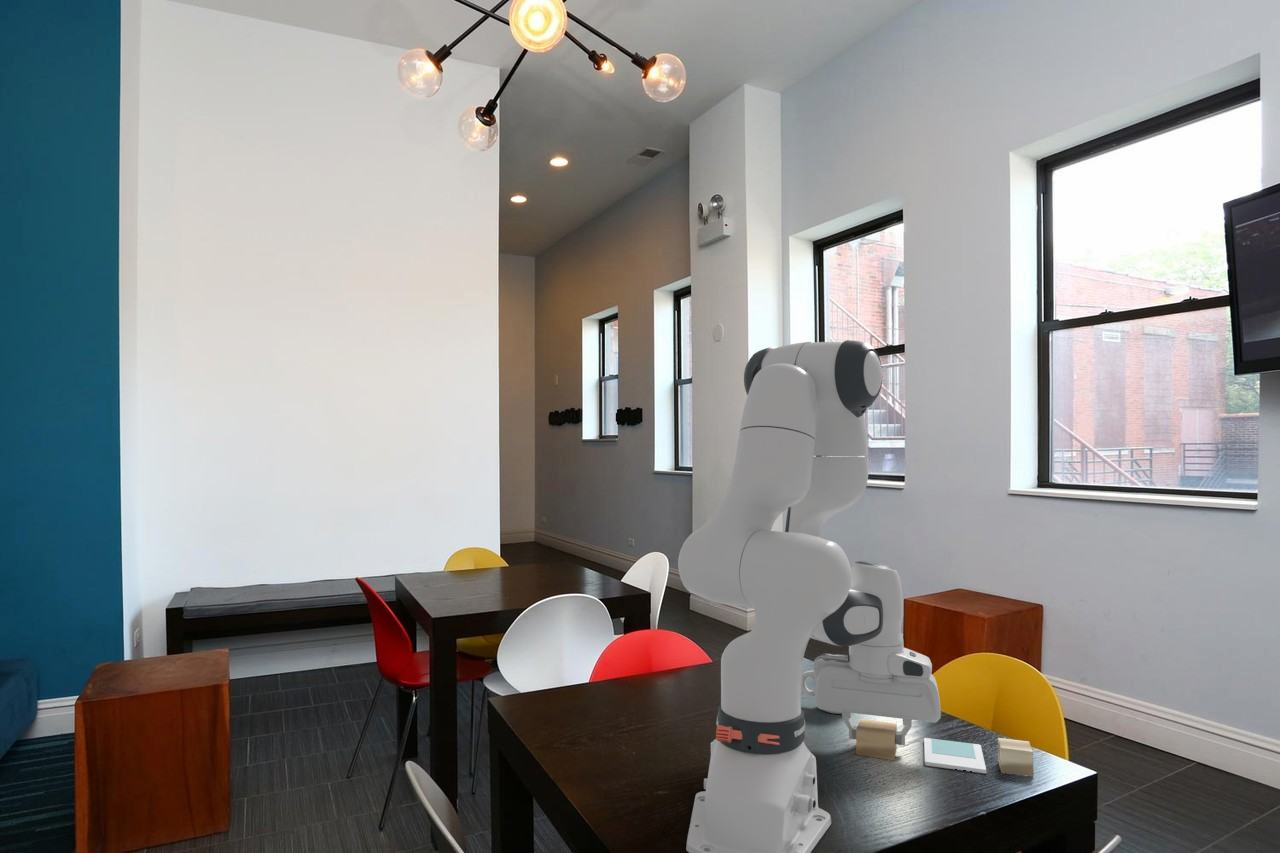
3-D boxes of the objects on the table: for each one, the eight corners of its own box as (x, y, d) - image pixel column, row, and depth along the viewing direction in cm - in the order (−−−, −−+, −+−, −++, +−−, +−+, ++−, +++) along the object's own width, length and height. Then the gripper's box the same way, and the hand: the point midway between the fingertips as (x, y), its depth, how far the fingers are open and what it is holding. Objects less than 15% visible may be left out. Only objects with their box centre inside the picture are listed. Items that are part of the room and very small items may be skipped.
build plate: (986, 773, 117) (986, 769, 117) (924, 765, 120) (924, 761, 120) (980, 748, 127) (980, 744, 127) (924, 741, 130) (924, 737, 130)
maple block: (1033, 777, 116) (1033, 751, 116) (1001, 773, 117) (1001, 747, 117) (1029, 766, 120) (1028, 741, 120) (998, 762, 121) (997, 737, 122)
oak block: (894, 760, 122) (894, 735, 122) (856, 754, 124) (856, 730, 124) (896, 747, 127) (896, 723, 127) (860, 742, 130) (860, 718, 130)
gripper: (811, 656, 127) (811, 739, 126) (940, 668, 120) (941, 756, 119) (815, 648, 133) (816, 726, 132) (939, 659, 126) (940, 742, 125)
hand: (876, 741), depth 126 cm, fingers closed on oak block, 6 cm apart
